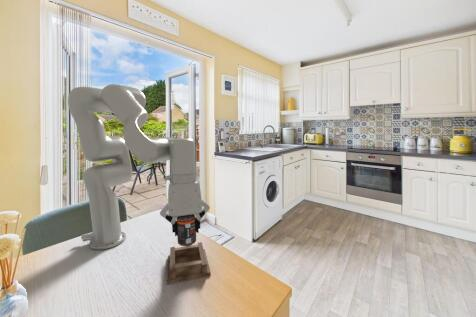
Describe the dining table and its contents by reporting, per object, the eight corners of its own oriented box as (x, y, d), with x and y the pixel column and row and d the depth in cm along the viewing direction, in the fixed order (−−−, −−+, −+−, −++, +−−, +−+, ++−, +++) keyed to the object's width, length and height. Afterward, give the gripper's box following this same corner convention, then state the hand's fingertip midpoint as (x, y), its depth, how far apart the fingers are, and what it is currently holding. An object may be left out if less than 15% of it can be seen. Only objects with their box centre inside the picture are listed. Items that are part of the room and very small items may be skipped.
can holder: (166, 284, 62) (166, 272, 61) (168, 258, 74) (167, 247, 73) (210, 275, 65) (210, 263, 65) (204, 251, 78) (204, 241, 77)
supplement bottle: (194, 247, 65) (192, 212, 63) (175, 247, 65) (173, 213, 64) (198, 237, 71) (196, 205, 69) (180, 237, 71) (178, 205, 70)
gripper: (153, 183, 59) (157, 242, 62) (213, 178, 64) (215, 233, 67) (155, 177, 66) (159, 231, 69) (209, 173, 71) (211, 223, 74)
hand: (186, 231), depth 68 cm, fingers closed on supplement bottle, 6 cm apart
